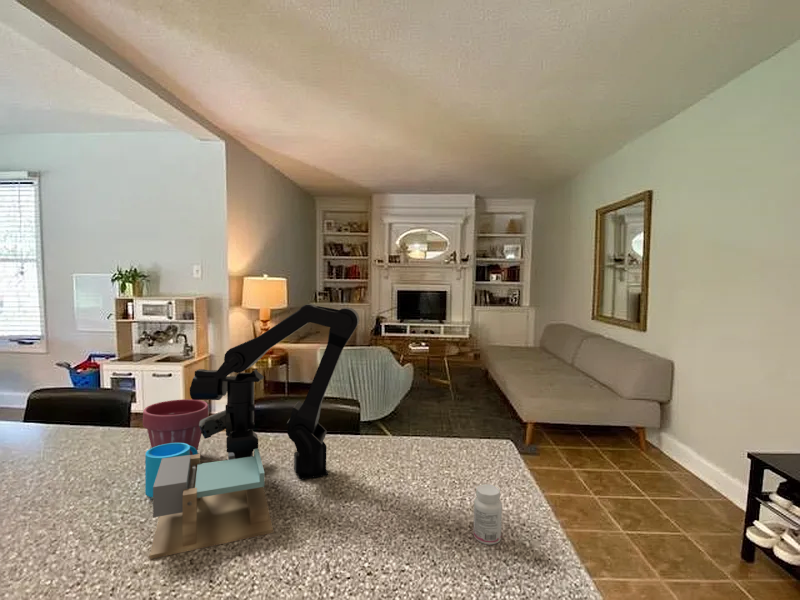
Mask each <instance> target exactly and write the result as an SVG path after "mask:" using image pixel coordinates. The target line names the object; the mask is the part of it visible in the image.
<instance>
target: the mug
mask: <svg viewBox="0 0 800 600" xmlns="http://www.w3.org/2000/svg"><path fill="white" fill-rule="evenodd" d="M190 450H191V451H192V454H193V455H196V454H199V452H198V451H199V450H196V448H195V447H193V446H189V445H188V444H185V443H168V444H162V445H158V446H155V447H153V448H151V447H150V448H149V449H147V451H145V458H144V459H145V460H144V461H145V462H144V463H145V469H144V473H145V476H144V478H145V481H144V482H145V484H144V485H145V488H144V489H145V490H144V492H145V493H144V494H145V495H146V496H147V497H149V498H150V499H151V498H152V499H153V486H154V483H155V480H156V476H157V473H158V470H159V467H160V463H161V460H162V459H163V458H170V457H178V456H186V455H190Z"/></svg>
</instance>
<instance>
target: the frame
mask: <svg viewBox="0 0 800 600" xmlns="http://www.w3.org/2000/svg"><path fill="white" fill-rule="evenodd" d="M197 464H201V453H198V454H196V455H191V479H190V486H189V489H185V490H183V512H182V513H176V514H170V515H165V516H159V517H158V519H157V524H156V528H155V533H154V537H153V540H152V544H151V547H150V553H149V560H152V559H157V558H162V557H168V556H171V555H176V554H181V553H185V552H189V551H195V550H199V549H204V548H209V547H213V546H219V545H224V544H228V543H233V542H236V541H241V540H246V539H250V538H256V537H259V536H266V535H269V534H273V533H274V528H273V523H272V519H271V515H270V509H269V504H268V501H267V498H266V497H267V496H266V493H265V492H266V491H265V489H264V487H265V486H264V487H259V488H253V489H247V490H242V491H236V492H230V493H224V494H218V495H212V496H206V497H200V498H197V488H195V483H196V473H197Z"/></svg>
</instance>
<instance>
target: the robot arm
mask: <svg viewBox="0 0 800 600" xmlns="http://www.w3.org/2000/svg"><path fill="white" fill-rule="evenodd" d="M309 323H313V324H315V325H320V326H323V327H326V328H329V332H328V339H327V344H326V347H325V350H324V351H323V354H322V357H321V360H320V362H319V364H318V367H317V369H316V372H315V375H314V377H313V379H312V382H311V384H310V387H309V389H308V392H307V394H306V397H305V398H304V399H305V400H304V401H303V402H302V401H300V400H298V401H297V402H296V403H295V405H294V406H293V407H292V410H291V413H290V418H289V419H288V420H287V422H286V424H285V426H288V427H287V433H286V434H287V435H288V437H289V440H291V442H293V443H294V446H295V449H296V451H294V453H293V455H294V456H293V470H294V473H295V474H296V476H297V477H298V479H299V480H307V479H314V478H320V477H325V476H328V475H329V471H328V470H327V444H326V443H325V438H326V435H327V433H328V431H327V429H325V427H324V426H323V425H322V424H320V422H319V419H320V415H321V410H322V402H323V400H324V397H325V396H326V395H325V394H326V392H327V390H328V388H329V385H330V383H331V380H332V378H333V375H334V372H335V370H336V368H337V365H338V363H339V360H340V358H341V355H342V352H343V349H344V348H345V347H346V345H347V343H348V342H349V340H350V338H351V337H352V336H353V333H354V332H355V330H356V329H357V328H358V326H359V323H360V316H359V314H358V312H357V311H356V310H355V309H354V308H352V307H348V306H347V307H342V308H341V309H336V308H331V307H325V306H318V305H315V304H314V303H313V304H312V303H307V304H304V305H302V306H301V307H300V308H299V310H297V311H295V312H293V313H292V314H291V315H289V316H287V317H286V318H285V319H283V320H281V321H279V323H277V324H276V325H274V326H273V327H271V328H270V329H268V330H266V331H265V332H263V333H261V334H260V335H258V336H257V337H254V338H252V339H249V340H248V341H245V342H243V343H239V344H238V345H236V346H233V347H230V349H228V350H227V351H226V352H225V353H224V357H223V363H222V364H221V365H220V366H219V367H218V369H204V368H203V369H202V368H199V369H196V370H195V371H194V376H193V378H192V380H191V382H190V383H191V384H190V386H189V397H190V398H191V399H193V400H201V401H220V400H221V399H222V398H223V396H226V397H227V398H226V404H225V409H224V410H222V411H218V412H215V413H214V414H211V415H208V417H206V418H204V419H202V420H201V421H200V422H199V427H200V430H201V435H202V437H203V439H205V440H206V439H209V438H211V437H212V436H214V435H216V434H218V433H221V432H223V431H225V435H226V441H225V442H226V444H225V445H226V448H225V449H226V453H232V452H233V453H234V455H235V459H238V458H245V457H251V455H252V453H253V454H254V449H259V437H258V434H257V433H256V432H255V431H254V429H255V427H256V426H255V410H256V407H255V383H259V382H260V381H261V380H263V379H264V375H262V373H260V371H258V369H254V370H252V371H251V372H244V371H246V370H248V369H250V368H251V367H253V366H254V365H255V364H256V363H258V362H259V361H260V359H261V358H263V356H264V355H265V354H266V353H268V351H269V350H270V349H272V348H273V347H274V346H276V345H278V344H279V343H280V342H282V341H284V340H285V339H287V338H288V337H290V336H291V335H293V334H294V333H296V332H298V330H300V329H302V328H303V327H305V326H306V325H308V324H309ZM233 373H236V375H235V376H234V375H232V376H230V375H231V374H233Z"/></svg>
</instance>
